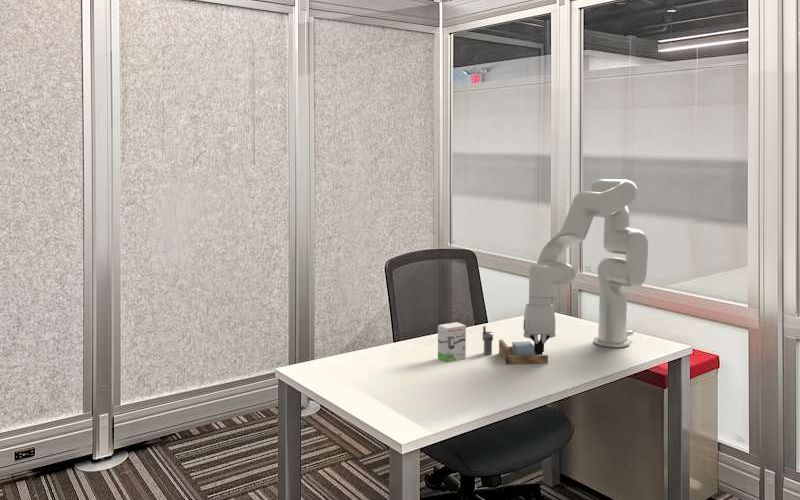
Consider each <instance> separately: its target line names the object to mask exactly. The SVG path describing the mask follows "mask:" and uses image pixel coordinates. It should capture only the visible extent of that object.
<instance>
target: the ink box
mask: <svg viewBox="0 0 800 500" xmlns="http://www.w3.org/2000/svg"><path fill="white" fill-rule="evenodd" d="M466 336H467V325H465V324H462V323H461V322H458V321H457V322H450V323H449V322H447V323H444V324H443V323H442V324H439V325H437V360H440V361H441V362H442V361H443V362H444V363H447V362H448V363H449V362H453V361H454V362H455V361H459V360H465V359H466V358H467V357H466V356H467V355H466V351H467V349H466V348H467V347H466V345H467V344H466V343H467V340H466V339H467V337H466Z"/></svg>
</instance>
